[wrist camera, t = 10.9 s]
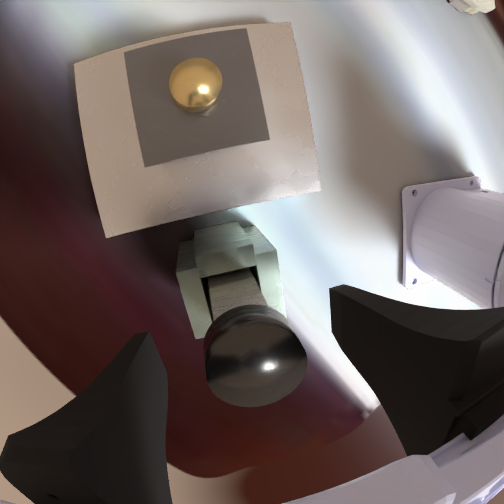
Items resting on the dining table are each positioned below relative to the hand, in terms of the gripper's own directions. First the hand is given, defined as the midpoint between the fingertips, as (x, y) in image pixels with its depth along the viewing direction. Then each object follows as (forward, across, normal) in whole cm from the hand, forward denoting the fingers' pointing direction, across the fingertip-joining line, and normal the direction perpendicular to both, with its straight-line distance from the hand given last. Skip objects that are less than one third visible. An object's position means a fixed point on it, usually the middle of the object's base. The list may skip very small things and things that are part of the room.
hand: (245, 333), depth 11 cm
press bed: (+8, 0, -6) cm, 10 cm away
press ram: (+5, 0, 0) cm, 5 cm away
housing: (+6, 0, -9) cm, 11 cm away
